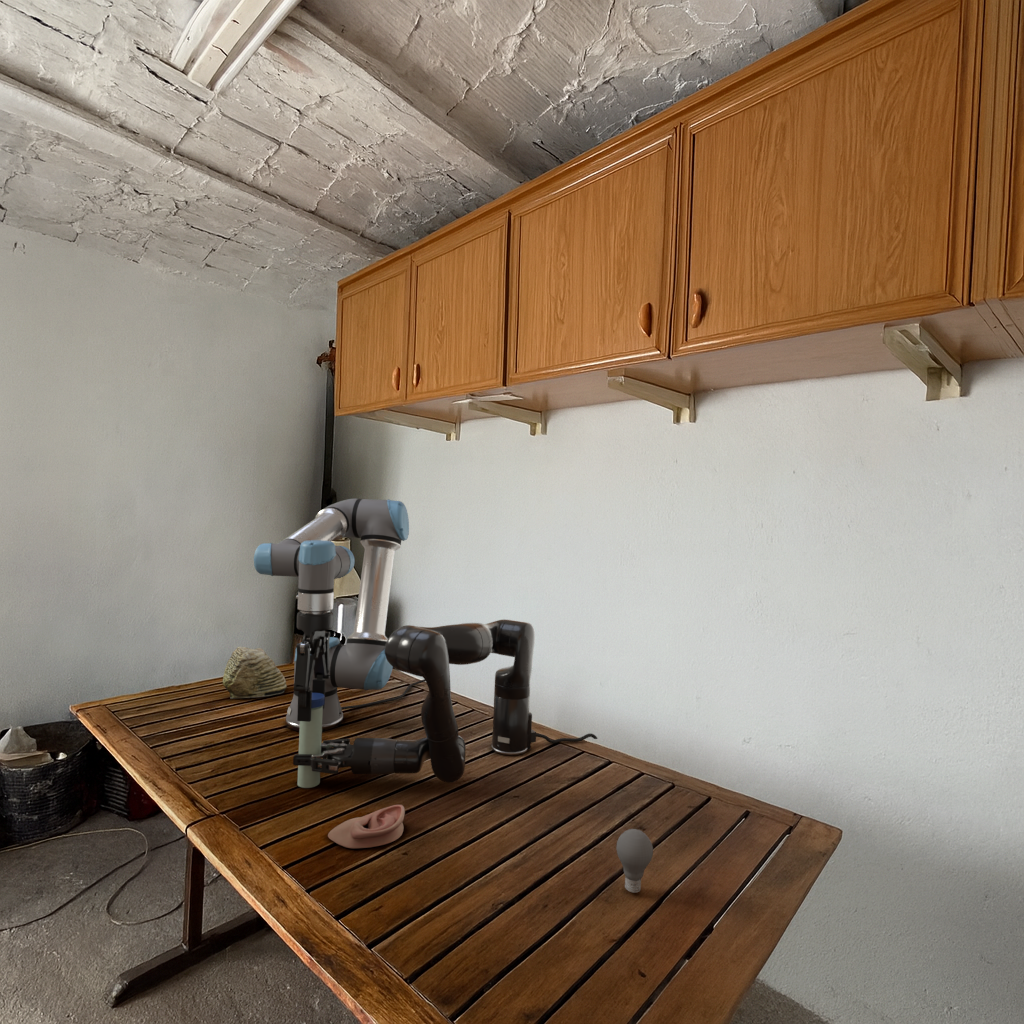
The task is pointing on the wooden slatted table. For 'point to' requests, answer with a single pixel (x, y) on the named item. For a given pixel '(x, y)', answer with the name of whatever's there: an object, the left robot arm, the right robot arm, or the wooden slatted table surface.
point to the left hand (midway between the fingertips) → (311, 714)
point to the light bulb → (634, 857)
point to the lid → (317, 700)
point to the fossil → (252, 674)
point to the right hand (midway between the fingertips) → (297, 754)
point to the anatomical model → (370, 828)
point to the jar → (310, 747)
